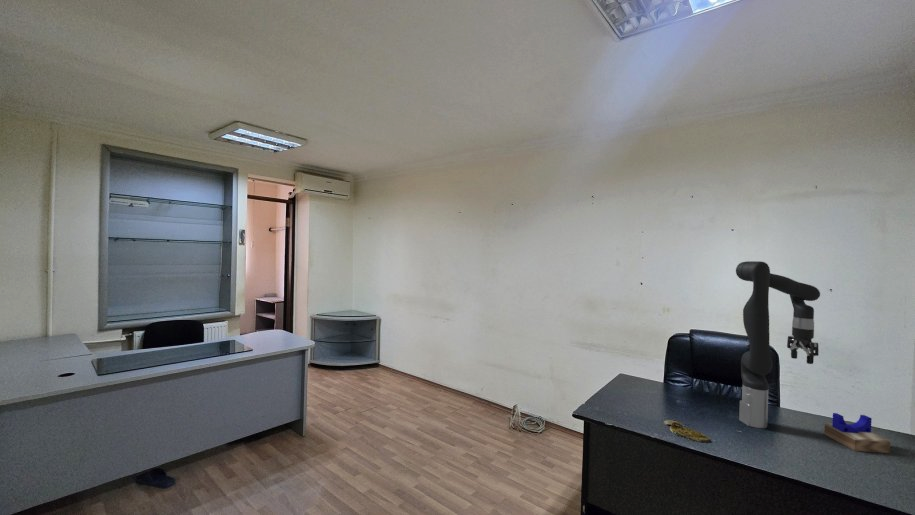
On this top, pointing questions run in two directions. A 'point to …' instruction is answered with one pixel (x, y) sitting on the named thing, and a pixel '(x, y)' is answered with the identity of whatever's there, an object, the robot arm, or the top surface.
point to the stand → (859, 440)
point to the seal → (688, 433)
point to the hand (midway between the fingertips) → (801, 360)
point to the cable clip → (859, 426)
